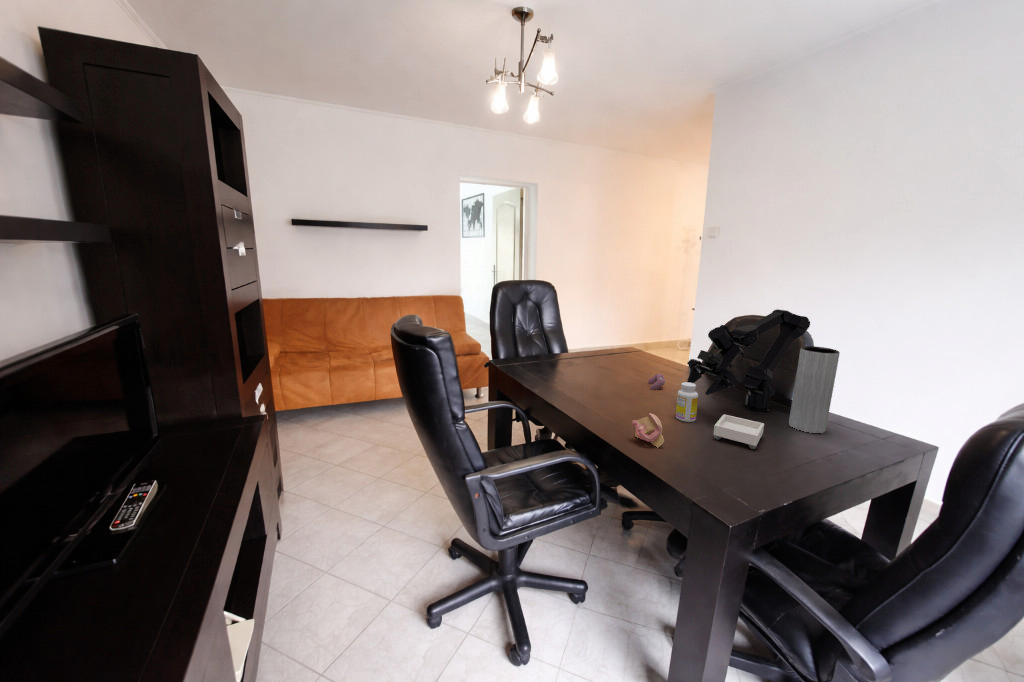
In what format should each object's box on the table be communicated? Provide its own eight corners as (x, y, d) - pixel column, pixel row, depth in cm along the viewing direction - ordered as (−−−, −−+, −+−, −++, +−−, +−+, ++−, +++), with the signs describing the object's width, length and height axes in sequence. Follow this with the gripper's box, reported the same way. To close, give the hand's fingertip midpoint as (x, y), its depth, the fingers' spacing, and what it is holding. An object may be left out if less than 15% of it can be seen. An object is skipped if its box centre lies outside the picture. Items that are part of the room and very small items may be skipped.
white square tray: (722, 427, 133) (723, 414, 132) (762, 437, 125) (764, 423, 124) (712, 439, 124) (714, 425, 123) (755, 451, 117) (757, 436, 116)
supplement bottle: (694, 416, 142) (698, 382, 139) (696, 423, 136) (700, 388, 133) (674, 414, 144) (678, 380, 141) (675, 421, 138) (679, 386, 135)
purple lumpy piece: (659, 394, 170) (668, 380, 168) (649, 388, 170) (658, 375, 168) (655, 386, 179) (664, 373, 177) (646, 381, 179) (655, 369, 177)
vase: (792, 419, 139) (804, 344, 134) (827, 427, 132) (842, 349, 127) (785, 427, 133) (797, 349, 127) (822, 437, 126) (837, 354, 120)
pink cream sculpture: (636, 433, 130) (660, 415, 127) (653, 458, 123) (678, 441, 120) (623, 425, 124) (648, 407, 121) (640, 452, 117) (667, 433, 114)
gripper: (694, 337, 145) (666, 368, 144) (736, 348, 128) (705, 383, 127) (708, 356, 149) (682, 387, 148) (751, 369, 132) (721, 404, 131)
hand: (696, 389), depth 139 cm, fingers open, 9 cm apart
